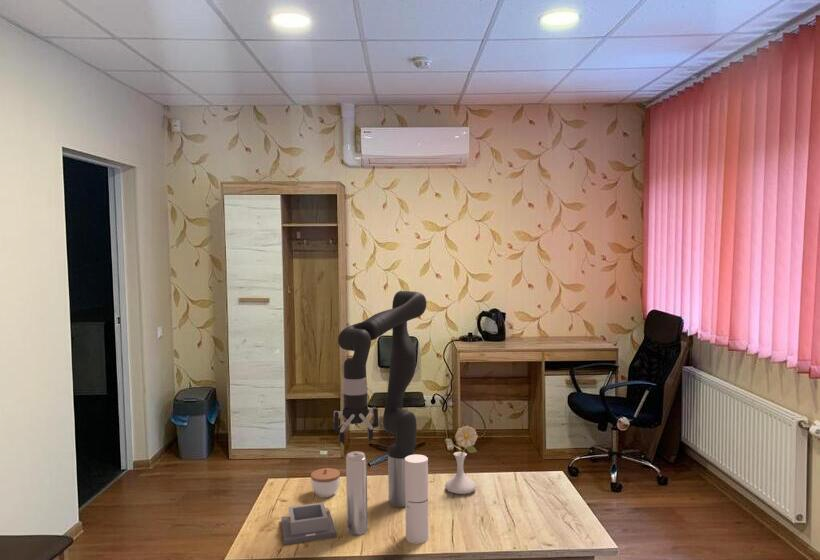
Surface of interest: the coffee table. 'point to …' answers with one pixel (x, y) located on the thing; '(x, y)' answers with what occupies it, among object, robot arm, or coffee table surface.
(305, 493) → the coffee table surface
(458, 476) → the flower in vase
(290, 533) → the socket
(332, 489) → the lidded jar
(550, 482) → the coffee table surface
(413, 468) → the cylindrical container
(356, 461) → the silver metal cylinder
